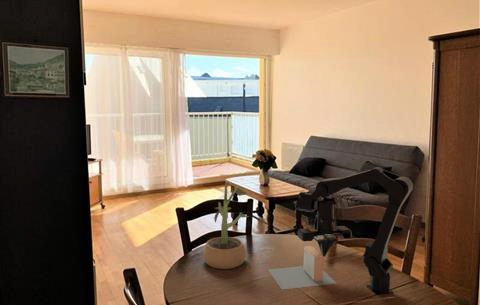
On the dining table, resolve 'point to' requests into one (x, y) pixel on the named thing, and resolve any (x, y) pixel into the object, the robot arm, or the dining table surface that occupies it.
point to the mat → (297, 278)
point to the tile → (313, 263)
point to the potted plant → (225, 240)
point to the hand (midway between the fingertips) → (323, 256)
